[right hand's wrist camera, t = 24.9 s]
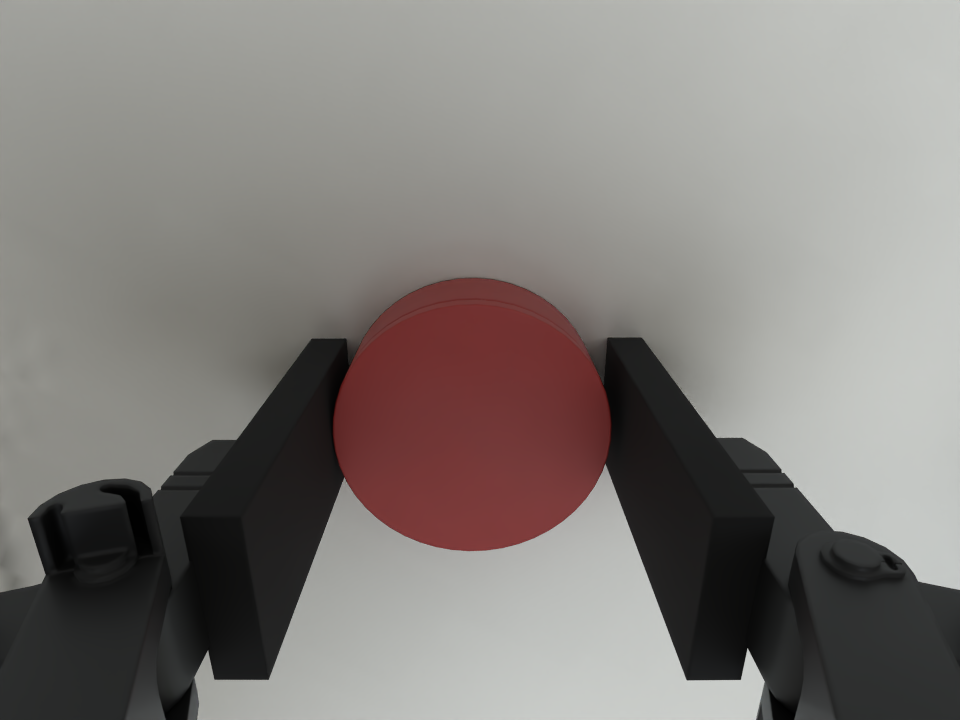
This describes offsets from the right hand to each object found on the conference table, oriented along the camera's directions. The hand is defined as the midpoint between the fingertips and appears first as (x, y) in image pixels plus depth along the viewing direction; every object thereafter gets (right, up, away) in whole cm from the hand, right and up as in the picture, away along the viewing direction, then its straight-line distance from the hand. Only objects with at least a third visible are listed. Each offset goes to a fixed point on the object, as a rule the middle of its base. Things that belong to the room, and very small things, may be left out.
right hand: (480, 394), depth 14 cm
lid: (0, -1, -2) cm, 2 cm away
